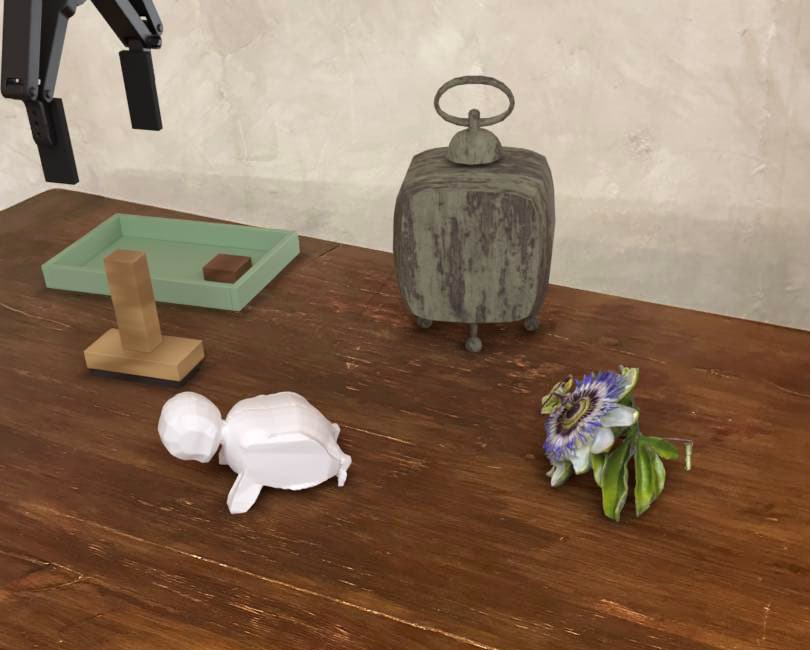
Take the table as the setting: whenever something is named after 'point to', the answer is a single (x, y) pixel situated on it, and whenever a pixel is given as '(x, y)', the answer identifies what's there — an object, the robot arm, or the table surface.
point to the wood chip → (226, 268)
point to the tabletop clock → (475, 227)
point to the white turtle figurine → (256, 442)
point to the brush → (140, 331)
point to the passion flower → (605, 439)
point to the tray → (175, 258)
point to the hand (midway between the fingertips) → (107, 154)
